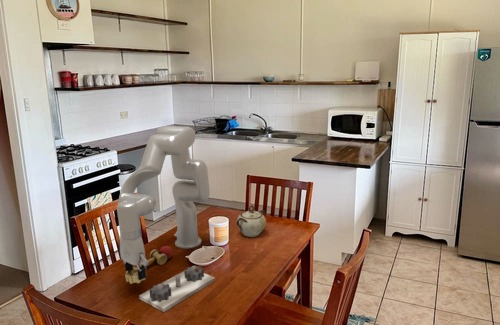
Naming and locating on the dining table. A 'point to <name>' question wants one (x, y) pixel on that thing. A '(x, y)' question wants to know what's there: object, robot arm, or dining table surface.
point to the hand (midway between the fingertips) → (136, 275)
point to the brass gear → (132, 276)
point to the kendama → (159, 255)
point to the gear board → (177, 288)
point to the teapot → (251, 222)
